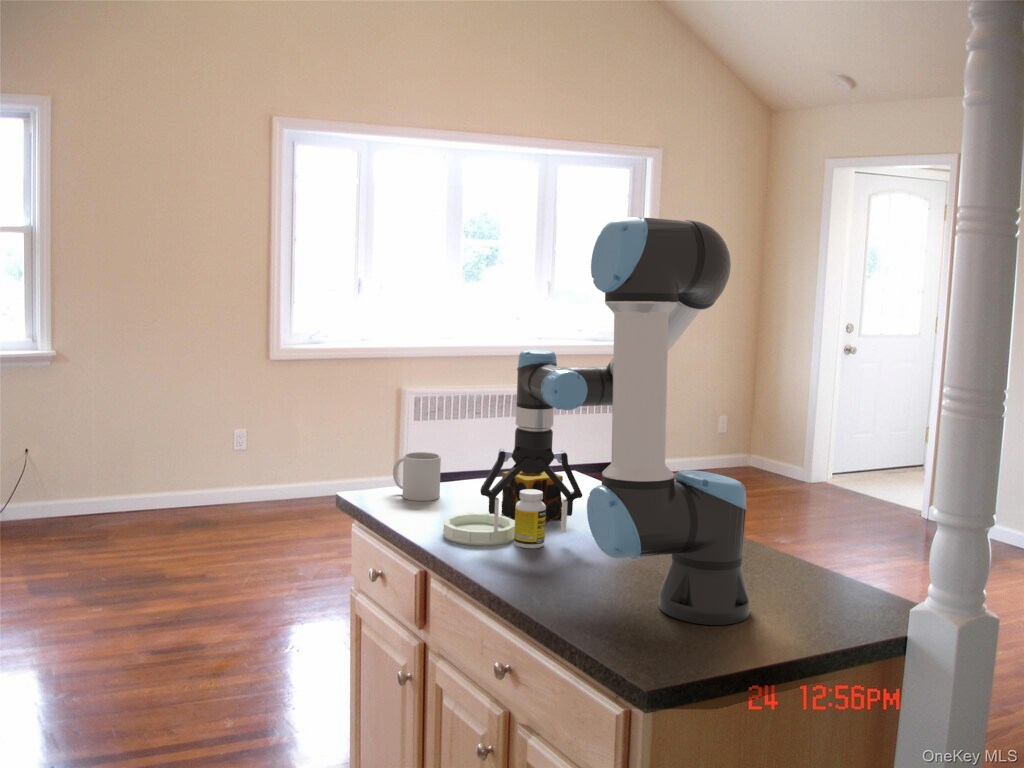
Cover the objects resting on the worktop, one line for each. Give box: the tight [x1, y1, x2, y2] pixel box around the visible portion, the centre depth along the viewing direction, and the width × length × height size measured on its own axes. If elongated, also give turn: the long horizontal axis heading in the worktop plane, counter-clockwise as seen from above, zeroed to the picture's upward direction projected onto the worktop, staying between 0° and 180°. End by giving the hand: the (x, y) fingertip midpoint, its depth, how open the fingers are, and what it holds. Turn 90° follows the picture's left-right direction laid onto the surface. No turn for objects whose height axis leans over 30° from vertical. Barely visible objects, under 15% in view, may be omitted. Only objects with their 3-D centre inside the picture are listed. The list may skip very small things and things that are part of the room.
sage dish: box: [442, 512, 515, 547], centre depth 209 cm, size 15×15×3 cm
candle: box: [501, 470, 564, 522], centre depth 225 cm, size 10×10×10 cm
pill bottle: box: [513, 489, 546, 550], centre depth 203 cm, size 6×6×11 cm
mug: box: [392, 451, 442, 502], centre depth 240 cm, size 11×10×10 cm
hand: (529, 530), depth 204 cm, fingers open, 13 cm apart
